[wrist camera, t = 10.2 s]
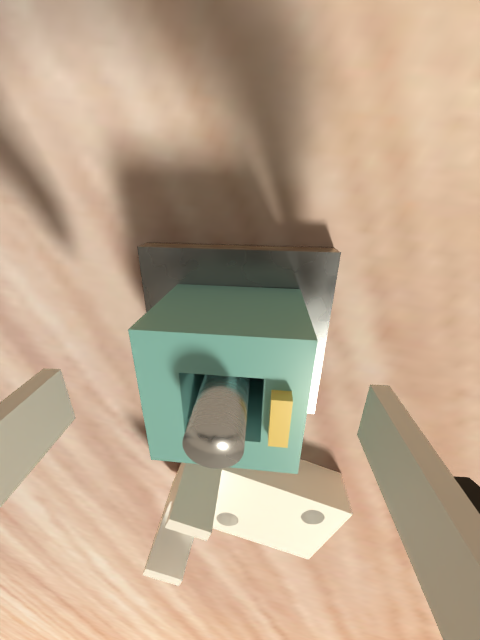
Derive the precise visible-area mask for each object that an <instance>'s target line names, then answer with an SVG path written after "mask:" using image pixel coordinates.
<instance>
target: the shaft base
mask: <svg viewBox="0 0 480 640" xmlns="http://www.w3.org/2000/svg"><path fill="white" fill-rule="evenodd" d="M137 248H138V255H139V262H140V269H141V276H142V283H143V291H144V298H145V305H146V312H148V311H149V310H150V309H151V308H152V307H153V306H154V305H155V304H156V303H158V302H159V301H160V300H161V299H162V298H163V297H164V296H165V295H166V294H167V293H168V292H169V291H171V290H172V289H173V288H174V287H175V286H176V285H177V284H190V285H213V286H237V287H261V288H284V289H300V290H301V293H302V296H303V299H304V302H305V305H306V307H307V310H308V313H309V316H310V319H311V322H312V325H313V328H314V331H315V334H316V337H317V340H318V343H317V349H316V356H315V363H314V369H313V376H312V383H311V389H310V396H309V403H308V409H307V413H309V414H314V412H315V406H316V400H317V394H318V388H319V382H320V376H321V370H322V364H323V358H324V352H325V346H326V340H327V334H328V327H329V321H330V315H331V309H332V303H333V297H334V291H335V285H336V279H337V273H338V267H339V261H340V255H341V252H339V251H338V250H337V249H335V248H324V247H287V246H251V245H214V244H178V243H146V244H143V245H141V246H138V247H137ZM249 386H250V378H247V377H233V376H219V375H205V376H204V379H203V382H202V385H201V388H200V390H199V393H198V396H197V399H196V402H195V405H194V408H193V411H192V414H191V417H190V420H189V422H188V425H187V428H186V431H185V434H184V437H183V441H182V445H183V449H184V451H185V453H186V455H187V456H188V457H189V458H190V459H191V460H192V461H194V462H195V463H197V464H199V465H201V466H204V467H207V468H212V469H223V468H228V467H231V466H233V465H235V464H236V463H238V462H239V461H240V459H241V458H242V456H243V454H244V446H245V434H246V422H247V410H248V398H249Z"/></svg>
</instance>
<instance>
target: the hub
mask: <svg viewBox="0 0 480 640" xmlns="http://www.w3.org/2000/svg"><path fill="white" fill-rule="evenodd" d="M128 331H129V337H130V342H131V348H132V354H133V359H134V365H135V371H136V377H137V382H138V388H139V394H140V399H141V405H142V411H143V416H144V422H145V428H146V434H147V439H148V445H149V451H150V456H151V460H161V461H171V462H181V463H191V464H197V463H195V462H194V461H192V460H191V459H190V458H189V457H188V456H187V455H186V453H185V451H184V449H183V445H182V441H183V437H184V434H185V431H186V428H187V425H188V422H189V420H190V417H191V414H192V411H193V408H194V405H195V402H196V399H197V396H198V393H199V390H200V388H201V385H202V382H203V379H204V376H205V375H219V376H233V377H247V378H250V386H249V398H248V410H247V422H246V434H245V446H244V454H243V456H242V458H241V459H240V461H239V462H238V463H236V464H235V465H233V466H231V468H241V469H251V470H261V471H271V472H281V473H291V474H298V470H299V463H300V456H301V449H302V443H303V436H304V429H305V423H306V416H307V409H308V403H309V396H310V389H311V383H312V376H313V369H314V363H315V356H316V349H317V343H318V340H317V337H316V334H315V331H314V328H313V325H312V322H311V319H310V316H309V313H308V310H307V307H306V305H305V302H304V299H303V296H302V293H301V290H300V289H284V288H261V287H237V286H213V285H190V284H177V285H176V286H175V287H174V288H173V289H172V290H171V291H169V292H168V293H167V294H166V295H165V296H164V297H163V298H162V299H161V300H160V301H159V302H158V303H156V304H155V305H154V306H153V307H152V308H151V309H150V310H149V311H148V312H147V313H146V314H145V315H144V316H142V317H141V318H140V319H139V320H138V321H137V322H136V323H135V324H134V325H133V326H132V327H131V328H129V329H128Z"/></svg>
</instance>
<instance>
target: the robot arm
mask: <svg viewBox="0 0 480 640" xmlns="http://www.w3.org/2000/svg"><path fill="white" fill-rule="evenodd" d="M74 419H75V415H74V411H73V408H72V405H71V402H70V398H69V395H68V392H67V389H66V385H65V382H64V379H63V376H62V372H61V369H42V370H41V371H40V372H39V373H37V374H36V375H35V376H34V377H32V378H31V379H30V380H28V381H27V382H26V383H25V384H23V385H22V386H21V387H20V388H18V389H17V390H16V391H14V392H13V393H12V394H11V395H9V396H8V397H7V398H6V399H4V400H3V401H2V402H0V507H1V506H2V505H3V504H4V503H5V501H6V500H7V499H8V498H9V497H10V496H11V494H12V493H13V492H14V491H15V490H16V488H17V487H18V486H19V485H20V484H21V482H22V481H23V480H24V479H25V478H26V476H27V475H28V474H29V473H30V472H31V470H32V469H33V468H34V467H35V466H36V465H37V463H38V462H39V461H40V460H41V459H42V457H43V456H44V455H45V454H46V453H47V451H48V450H49V449H50V448H51V447H52V445H53V444H54V443H55V442H56V441H57V440H58V438H59V437H60V436H61V435H62V434H63V432H64V431H65V430H66V429H67V428H68V426H69V425H70V424H71V423H72V422H73V420H74ZM357 435H358V438H359V440H360V442H361V445H362V447H363V450H364V452H365V454H366V457H367V459H368V462H369V464H370V466H371V469H372V471H373V473H374V476H375V478H376V481H377V483H378V485H379V488H380V490H381V492H382V495H383V497H384V500H385V502H386V504H387V507H388V509H389V512H390V514H391V516H392V519H393V521H394V523H395V526H396V528H397V531H398V533H399V535H400V538H401V540H402V542H403V545H404V547H405V550H406V552H407V554H408V557H409V559H410V562H411V564H412V566H413V569H414V571H415V573H416V576H417V578H418V581H419V583H420V585H421V588H422V590H423V592H424V595H425V597H426V600H427V602H428V604H429V607H430V609H431V612H432V614H433V616H434V619H435V621H436V623H437V626H438V628H439V631H440V633H441V635H442V638H443V640H480V487H479V486H478V485H477V484H476V483H475V482H474V481H472V480H471V479H470V478H468V477H453V475H452V474H451V473H450V471H449V470H448V468H447V467H446V465H445V464H444V463H443V461H442V460H441V458H440V457H439V456H438V454H437V453H436V451H435V450H434V448H433V447H432V446H431V444H430V443H429V441H428V440H427V438H426V437H425V436H424V434H423V433H422V431H421V430H420V429H419V427H418V426H417V424H416V423H415V421H414V420H413V419H412V417H411V416H410V414H409V413H408V411H407V410H406V409H405V407H404V406H403V404H402V403H401V402H400V400H399V399H398V397H397V396H396V394H395V393H394V392H393V390H392V389H391V387H390V386H385V385H370V387H369V391H368V395H367V399H366V403H365V406H364V410H363V414H362V418H361V422H360V426H359V430H358V434H357Z"/></svg>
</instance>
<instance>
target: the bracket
mask: <svg viewBox="0 0 480 640" xmlns="http://www.w3.org/2000/svg"><path fill="white" fill-rule="evenodd" d="M352 515H353V513H352V509H351V506H350V502H349V499H348V495H347V491H346V488H345V484H344V481H343V477H342V473H339V472H336V471H333V470H331V469H328V468H325V467H322V466H319V465H316V464H314V463H311V462H308V461H305V460H302V459H300V463H299V470H298V474H291V473H281V472H271V471H261V470H251V469H241V468H231V467H228V468H223V469H212V468H207V467H204V466H201V465H199V464H191V463H181V465H180V467H179V469H178V471H177V474H176V476H175V478H174V481H173V483H172V486H171V489H170V493H169V496H168V499H167V502H166V505H165V508H164V511H163V514H162V517H161V520H160V523H159V526H158V529H157V532H156V535H155V539H154V542H153V545H152V548H151V551H150V554H149V557H148V560H147V563H146V566H145V569H144V572H143V575H144V576H147V577H151V578H154V579H157V580H160V581H164V582H167V583H170V584H174V585H177V586H179V585H180V583H181V582H182V580H183V576H184V572H185V568H186V564H187V560H188V556H189V553H190V549H191V546H192V543H193V540H194V537H195V538H199V539H202V540H205V541H207V540H208V538H209V536H210V535H211V533H212V528H213V529H216V530H219V531H222V532H225V533H228V534H231V535H234V536H237V537H241V538H244V539H247V540H250V541H253V542H256V543H259V544H262V545H265V546H268V547H271V548H274V549H278V550H281V551H284V552H287V553H290V554H293V555H296V556H299V557H302V558H305V559H309V558H310V557H311V556H312V555H313V554H314V553H315V552H316V551H317V550H318V549H319V548H320V547H321V546H322V545H323V544H324V543H325V542H326V541H327V540H328V539H329V538H330V537H331V536H332V535H333V534H334V533H335V532H336V531H337V530H338V529H339V528H340V527H341V526H342V525H343V524H344V523H345V522H346V521H347V520H348V519H349V518H350V517H351V516H352Z"/></svg>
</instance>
